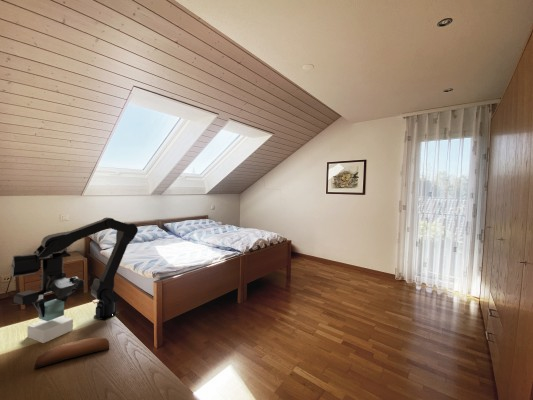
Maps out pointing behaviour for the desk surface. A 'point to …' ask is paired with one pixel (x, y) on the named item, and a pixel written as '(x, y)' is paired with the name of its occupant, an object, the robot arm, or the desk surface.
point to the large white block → (49, 329)
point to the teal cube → (53, 310)
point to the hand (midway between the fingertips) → (51, 313)
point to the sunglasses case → (71, 350)
